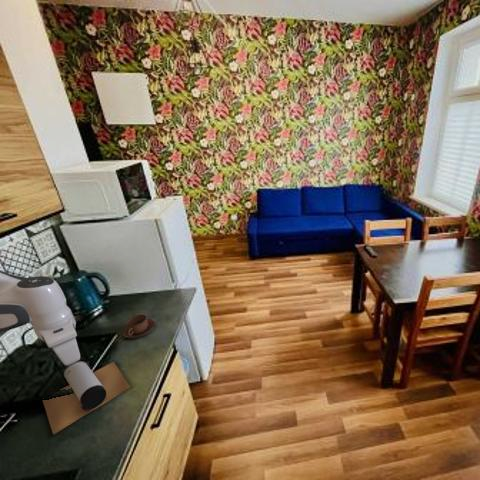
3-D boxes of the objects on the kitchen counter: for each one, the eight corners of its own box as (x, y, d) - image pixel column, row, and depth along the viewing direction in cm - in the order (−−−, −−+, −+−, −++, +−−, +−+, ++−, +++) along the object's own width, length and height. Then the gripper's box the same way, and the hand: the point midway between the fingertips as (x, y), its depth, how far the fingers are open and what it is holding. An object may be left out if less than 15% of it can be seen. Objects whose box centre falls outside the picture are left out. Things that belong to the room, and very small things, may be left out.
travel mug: (58, 370, 91) (78, 403, 81) (82, 357, 96) (103, 386, 86) (67, 382, 94) (87, 415, 84) (89, 368, 99) (111, 398, 88)
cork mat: (53, 434, 79) (52, 433, 78) (42, 400, 88) (42, 399, 88) (130, 387, 93) (130, 386, 93) (114, 362, 103) (113, 361, 102)
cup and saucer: (152, 337, 115) (149, 325, 113) (119, 343, 112) (115, 332, 109) (157, 319, 126) (154, 309, 123) (128, 325, 122) (124, 314, 120)
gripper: (35, 316, 85) (51, 348, 91) (47, 346, 73) (65, 382, 79) (61, 306, 90) (75, 338, 95) (77, 334, 78) (92, 368, 83)
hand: (71, 358), depth 87 cm, fingers closed
